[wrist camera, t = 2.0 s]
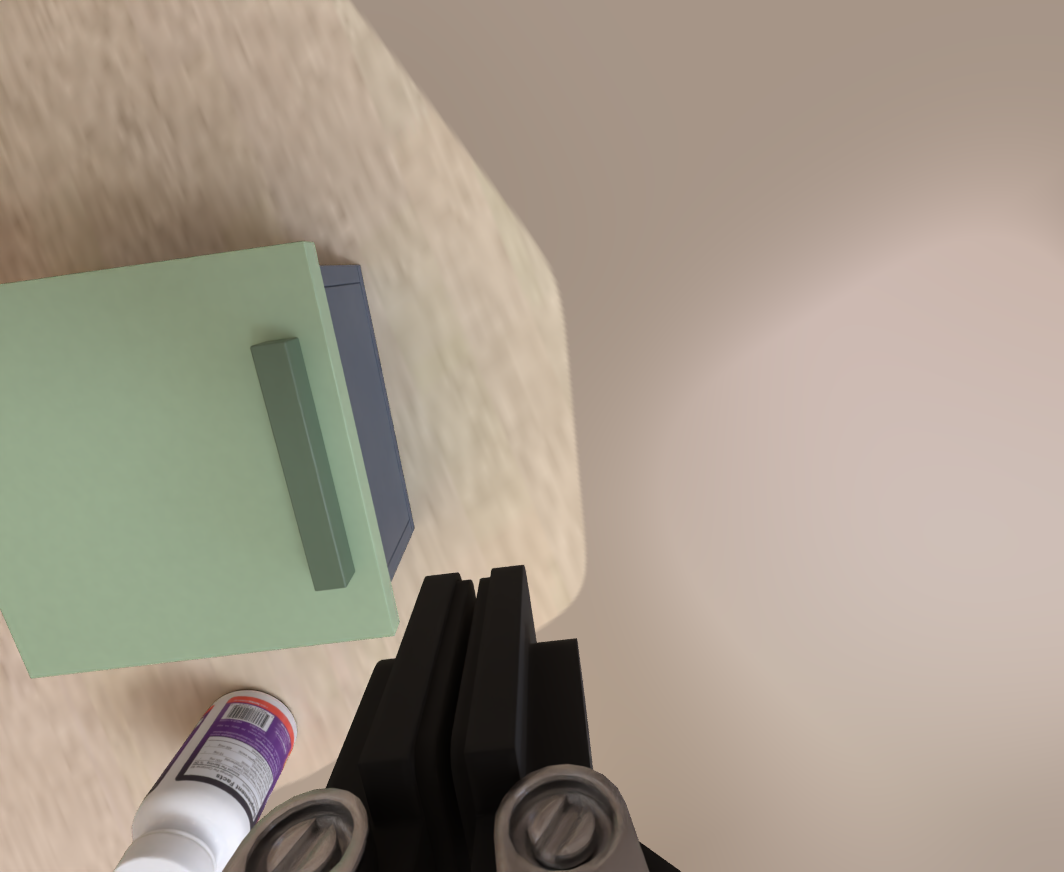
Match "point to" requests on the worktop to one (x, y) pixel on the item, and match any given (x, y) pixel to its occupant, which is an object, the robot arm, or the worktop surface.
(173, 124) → the worktop surface
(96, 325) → the bin lid
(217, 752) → the pill bottle
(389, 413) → the storage bin
